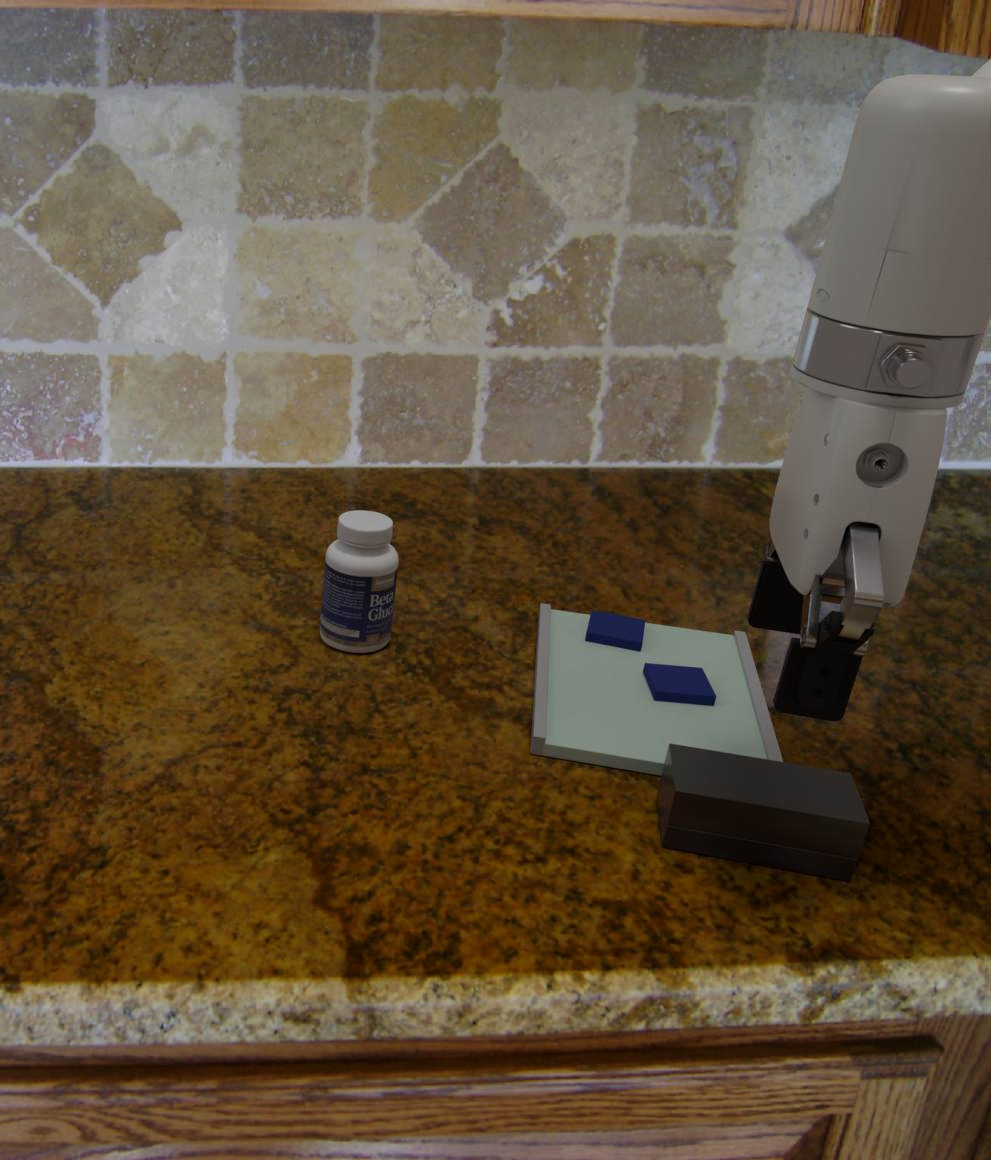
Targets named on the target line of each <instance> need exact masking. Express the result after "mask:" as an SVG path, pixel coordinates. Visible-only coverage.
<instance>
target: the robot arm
mask: <svg viewBox="0 0 991 1160" xmlns="http://www.w3.org/2000/svg"><path fill="white" fill-rule="evenodd" d="M837 189H838V190H837V192H836V193H837V194H836V196H835V201H834V204H833V208H832V212H831V215H830V219H829V224H828V228H827V231H826V235H825V238H824V243H823V245H822V246H823V247H822V250H821V254H820V257H819V261H818V265H817V268H816V273H815V277H814V280H813V283H812V288H811V292H810V295H809V299H808V303H807V307H806V310H805V314H804V318H803V322H802V325H801V330H800V333H799V337H798V341H797V345H796V348H795V352H794V356H793V360H792V363H791V367H790V371H789V376H790V377H791V379H792V380H793V381H794V382H795V383H797V384H800V385H803V386H804V387H805V390H804V392H803V396H802V398H801V399H800V401H799V404H800V405H799V408H798V411H797V414H796V417H795V420H794V423H793V427H792V431H791V433H790V437H789V440H788V444H787V447H786V450H785V453H784V457H783V460H782V464H781V467H780V470H779V474H778V478H777V481H776V486H775V490H774V494H773V495H774V496H773V499H772V502H771V503H772V504H771V508H770V514H769V520H768V521H769V524H768V525H769V526H768V527H769V534H770V538H769V539H768V542H767V544H766V548H765V558H766V560H764V559H762V561H761V564H760V568H759V573H758V576H757V580H756V584H755V586H754V591H753V594H752V598H751V602H750V605H749V609H748V613H747V616H746V619H747V623H748V625H749V626H750V627H751V628H755V629H761V630H768V631H773V632H774V631H775V632H781V633H787V634H793V635H799V637H793V636H792V637H791V638H790V640H789V645H788V648H787V651H786V655H785V658H784V661H783V665H782V669H781V671H780V675H779V679H778V682H777V685H776V689H775V693H774V696H773V698H772V702H773V706H774V709H775V710H776V712H778V713H781V714H785V715H793V716H797V717H804V718H810V719H816V720H821V721H827V722H839V721H841V720H842V719H843V718H844V716H845V713H846V710H847V707H848V703H849V701H850V697H851V694H852V691H853V688H854V685H855V682H856V679H857V676H858V673H859V671H860V666H861V665H862V661H863V657H864V656H865V655H866V653H867V651H868V647H869V639H870V637H873V635H874V633H875V628H874V627H875V623H874V622H875V621H876V619H877V617H878V616H879V614H880V612H881V611H882V609H883V607H884V608H893V607H896V606H897V605H899V604H900V603H901V601H902V600H903V598H904V595H905V593H906V590H907V587H908V583H909V579H910V576H911V573H912V570H913V565H914V562H915V558H916V555H917V552H918V548H919V544H920V541H921V538H922V535H923V529H924V525H925V522H926V518H927V515H928V511H929V509H930V503H931V500H932V497H933V492H934V488H935V484H936V479H937V475H938V470H939V467H940V463H941V457H942V451H943V446H944V442H945V441H944V440H945V433H946V428H947V419H948V410H947V409H951V408H954V407H957V406H959V405H961V404H962V403H963V401H964V398H965V395H966V391H967V388H968V385H969V382H970V379H971V376H972V374H973V371H974V370H973V369H974V368H975V364H976V362H977V358H978V355H979V351H980V348H981V346H982V343H983V340H984V338H985V334H986V330H987V328H988V325H989V322H990V319H991V58H990V59H989V60H988V61H987V62H985V63H984V64H983V65H982V66H981V67H979V69H977V70H976V71H975V72H974V73H973V74H971V75H956V74H955V75H953V74H932V73H930V74H927V73H926V74H925V73H915V74H914V73H911V74H902V75H896V76H892V77H889V78H886V79H883V81H880V82H878V84H876V85H875V86H874V87H873V88H872V89H871V90H870V91H869V92H868V93H867V95H866V97H865V98H864V99H863V102H862V103H861V106H860V109H859V112H858V114H857V118H856V121H855V124H854V127H853V130H852V135H851V139H850V143H849V146H848V151H847V154H846V158H845V163H844V166H843V170H842V174H841V177H840V181H839V185H838V188H837ZM771 560H774V561H771ZM824 579H829V580H836V581H842V582H844V585H840V584H839V585H838V584H832V583H825V582H823V581H824ZM822 602H823V603H830V604H836V605H839V610H831V611H829V613H827V614H826V615H825V616H824V618H822V620H821V611H822V610H821V609H822Z"/></svg>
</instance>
